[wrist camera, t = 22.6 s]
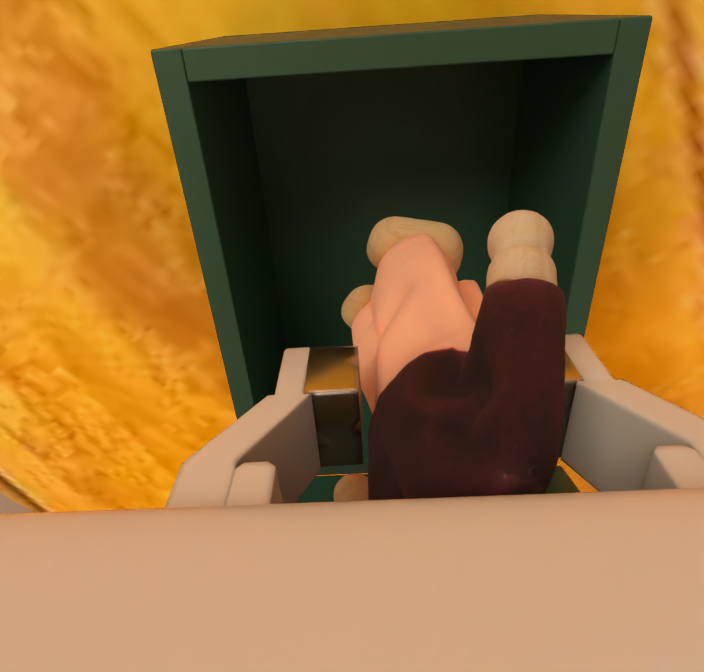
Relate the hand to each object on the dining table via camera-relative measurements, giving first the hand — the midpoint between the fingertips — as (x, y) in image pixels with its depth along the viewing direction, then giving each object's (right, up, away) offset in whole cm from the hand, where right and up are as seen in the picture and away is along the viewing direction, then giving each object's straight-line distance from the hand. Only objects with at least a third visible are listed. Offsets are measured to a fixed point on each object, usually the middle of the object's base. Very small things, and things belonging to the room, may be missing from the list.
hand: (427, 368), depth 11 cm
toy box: (0, +6, +14) cm, 15 cm away
